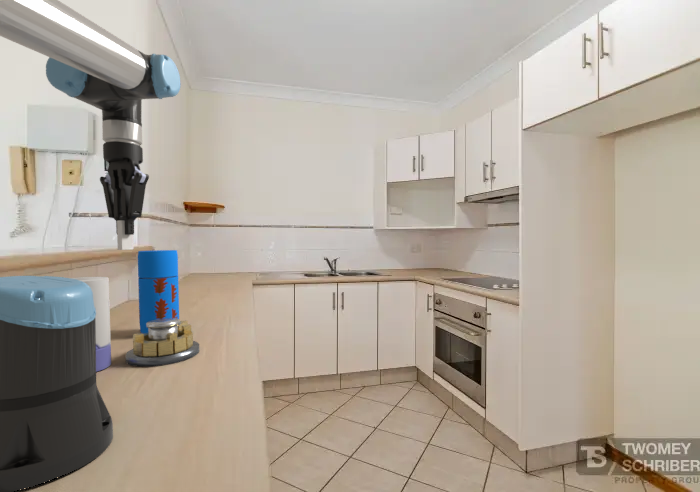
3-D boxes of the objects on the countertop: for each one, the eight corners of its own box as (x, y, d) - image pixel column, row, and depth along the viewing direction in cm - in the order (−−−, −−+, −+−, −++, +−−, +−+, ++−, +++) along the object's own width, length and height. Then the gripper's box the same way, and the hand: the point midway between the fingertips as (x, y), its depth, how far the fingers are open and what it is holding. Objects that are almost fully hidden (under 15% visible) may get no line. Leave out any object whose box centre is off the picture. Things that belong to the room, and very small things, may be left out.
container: (98, 358, 86) (95, 275, 86) (120, 365, 81) (117, 277, 81) (46, 372, 78) (43, 280, 77) (67, 381, 73) (64, 282, 72)
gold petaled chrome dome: (178, 355, 82) (177, 336, 82) (121, 356, 82) (120, 337, 82) (209, 333, 101) (209, 317, 101) (163, 334, 101) (163, 318, 101)
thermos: (142, 330, 113) (139, 250, 113) (179, 326, 118) (177, 249, 117) (138, 338, 103) (135, 251, 103) (179, 334, 108) (177, 250, 107)
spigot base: (160, 370, 78) (159, 332, 78) (109, 362, 84) (108, 326, 84) (214, 348, 93) (214, 316, 93) (169, 342, 99) (168, 312, 99)
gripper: (158, 145, 82) (161, 249, 82) (119, 151, 87) (121, 249, 87) (127, 136, 75) (130, 250, 75) (86, 143, 80) (89, 250, 80)
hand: (125, 249), depth 81 cm, fingers closed
